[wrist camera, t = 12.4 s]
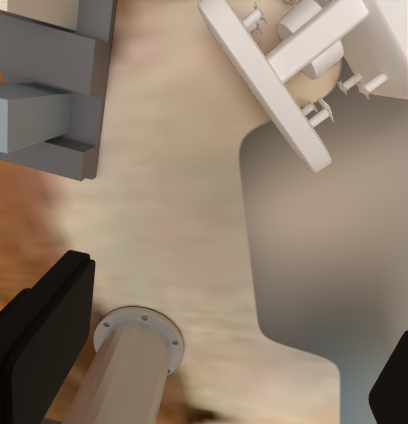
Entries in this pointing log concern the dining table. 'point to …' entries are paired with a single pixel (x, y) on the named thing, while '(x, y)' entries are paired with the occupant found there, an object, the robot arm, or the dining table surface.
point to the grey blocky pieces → (63, 82)
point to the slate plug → (31, 114)
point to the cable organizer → (315, 58)
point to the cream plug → (45, 11)
